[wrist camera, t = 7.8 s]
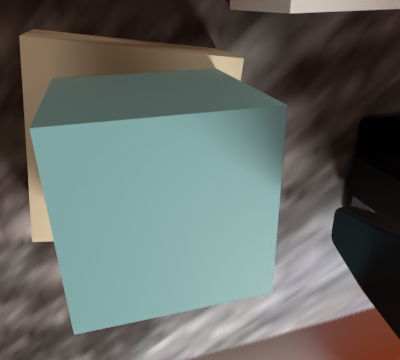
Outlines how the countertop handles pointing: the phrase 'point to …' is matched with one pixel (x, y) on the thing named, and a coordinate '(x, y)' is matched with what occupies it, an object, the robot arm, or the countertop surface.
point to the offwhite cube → (312, 5)
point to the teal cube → (159, 191)
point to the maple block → (95, 66)
